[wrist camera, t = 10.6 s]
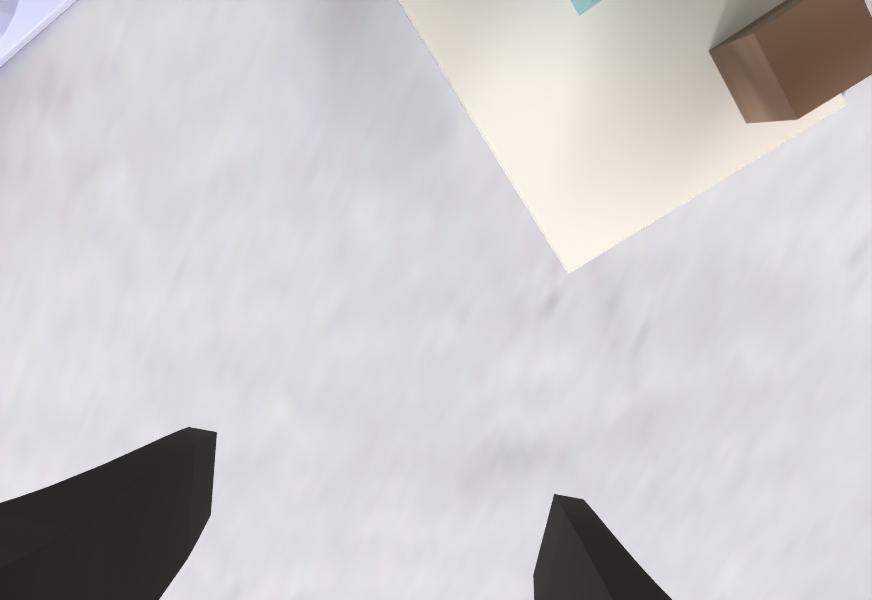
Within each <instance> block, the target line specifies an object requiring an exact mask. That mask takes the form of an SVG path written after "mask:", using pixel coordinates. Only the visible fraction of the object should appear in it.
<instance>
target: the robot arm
mask: <svg viewBox="0 0 872 600" xmlns="http://www.w3.org/2000/svg"><path fill="white" fill-rule="evenodd" d="M75 1H76V0H0V67H1V66H2V65H3V64H4V63H5V62H7V61H8V60H9V59H10V58H11V57H12V56H13V55H15V54H16V53H17V52H18V51H19V50H20V49H21V48H23V47H24V46H25V45H26V44H27V43H28V42H29V41H31V40H32V39H33V38H34V37H35V36H36V35H38V34H39V33H40V32H41V31H42V30H43V29H44V28H46V27H47V26H48V25H49V24H50V23H51V22H52V21H54V20H55V19H56V18H57V17H58V16H59V15H60V14H62V13H63V12H64V11H65V10H66V9H67V8H68V7H70V6H71V5H72V4H73V3H74V2H75ZM216 437H217V432H213V431H207V430H202V429H196V428H191V427H187V428H185V429H182V430H179V431H177V432H174V433H172V434H170V435H168V436H165V437H163V438H161V439H159V440H156V441H154V442H152V443H150V444H148V445H145V446H143V447H141V448H139V449H137V450H134V451H132V452H130V453H128V454H126V455H123V456H121V457H119V458H117V459H114V460H112V461H110V462H108V463H105V464H103V465H101V466H98V467H96V468H93V469H91V470H89V471H86V472H84V473H81V474H79V475H76V476H74V477H71V478H69V479H66V480H64V481H61V482H59V483H56V484H54V485H51V486H49V487H46V488H43V489H41V490H38V491H35V492H32V493H29V494H26V495H23V496H21V497H17V498H14V499H11V500H8V501H5V502H2V503H0V600H159V599H160V597H161V596H162V595H163V593H164V592H165V590H166V589H167V587H168V586H169V585H170V583H171V582H172V580H173V579H174V577H175V576H176V575H177V573H178V572H179V570H180V569H181V567H182V566H183V565H184V563H185V562H186V560H187V559H188V557H189V555H190V553H191V552H192V550H193V548H194V546H195V544H196V542H197V541H198V539H199V537H200V535H201V533H202V531H203V529H204V527H205V525H206V523H207V521H208V519H209V517H210V516H211V504H212V490H213V477H214V463H215V450H216ZM533 578H534V600H672V599H671V598H670V597H669V596H668V595H667V594H666V593H665V592H664V591H663V590H662V589H661V588H660V587H659V586H658V585H657V584H656V583H655V582H654V580H653V579H652V578H651V577H650V576H649V575H648V574H647V573H646V572H645V571H644V570H643V569H642V567H641V566H640V565H639V564H638V563H637V562H636V561H635V560H634V558H633V557H632V556H631V555H630V554H629V553H628V551H627V550H626V549H625V548H624V547H623V546H622V544H621V543H620V542H619V541H618V540H617V539H616V537H615V536H614V535H613V534H612V533H611V531H610V530H609V529H608V528H607V527H606V525H605V524H604V523H603V522H602V521H601V519H600V518H599V517H598V516H597V515H596V513H595V512H594V511H593V510H592V509H591V507H590V506H589V505H588V504H587V503H586V502H585V501H584V500H583V499H578V498H573V497H568V496H562V495H557V494H554V497H553V501H552V505H551V509H550V513H549V516H548V520H547V524H546V528H545V532H544V536H543V540H542V544H541V547H540V551H539V555H538V559H537V563H536V567H535V571H534V574H533Z"/></svg>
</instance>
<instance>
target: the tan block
mask: <svg viewBox="0 0 872 600" xmlns="http://www.w3.org/2000/svg"><path fill="white" fill-rule="evenodd" d="M709 53H710V55H711V57H712V59H713V61H714V63H715V65H716V67H717V68H718V70H719V72H720V74H721V76H722V78H723V80H724V82H725V84H726V86H727V88H728V90H729V91H730V93H731V95H732V97H733V99H734V101H735V103H736V105H737V107H738V109H739V111H740V113H741V115H742V116H743V118H744V120H745V122H746V124H747V123H761V122H774V121H788V120H798V119H800V118H801V117H803V116H804V115H806V114H808V113H809V112H811V111H813V110H814V109H816V108H818V107H819V106H821V105H822V104H824V103H826V102H827V101H829V100H831V99H832V98H834V97H835V96H837V95H839V94H840V93H842V92H844V91H845V90H847V89H849V88H850V87H852V86H853V85H855V84H857V83H858V82H860V81H862V80H863V79H865V78H867V77H868V76H870V75H871V74H872V17H871V15H870V12H869V10H868V8H867V6H866V4H865V1H864V0H785V1H784V2H782V3H781V4H779V5H778V6H776V7H775V8H773V9H772V10H770V11H769V12H767V13H766V14H764V15H763V16H761V17H760V18H758V19H756V20H755V21H753V22H752V23H750V24H749V25H747V26H746V27H744V28H743V29H741V30H740V31H738V32H737V33H735V34H734V35H732V36H731V37H729V38H728V39H726V40H724V41H723V42H721V43H720V44H718V45H717V46H715V47H714V48H712V49H711V50H709Z"/></svg>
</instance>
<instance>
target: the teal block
mask: <svg viewBox="0 0 872 600" xmlns="http://www.w3.org/2000/svg"><path fill="white" fill-rule="evenodd" d="M570 1H571V2H572V4H573V6H574V8H575V9H576V11H577V13H578V15H579V16H580V15H582V14H583V13H584V12H586V11H587V10H589V9H590V8H591V7H593V6H594V5H596V4H597V3H599V2H600V1H601V0H570Z"/></svg>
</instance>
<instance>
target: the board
mask: <svg viewBox="0 0 872 600" xmlns="http://www.w3.org/2000/svg"><path fill="white" fill-rule="evenodd" d="M398 1H399V3H400V5H401V6H402V8H403V9H404V11H405V13H406V14H407V16H408V17H409V19H410V21H411V22H412V24H413V25H414V27H415V29H416V30H417V32H418V34H419V35H420V37H421V38H422V40H423V42H424V43H425V45H426V46H427V48H428V50H429V51H430V53H431V54H432V56H433V58H434V59H435V61H436V62H437V64H438V66H439V67H440V69H441V70H442V72H443V74H444V75H445V77H446V79H447V80H448V82H449V83H450V85H451V87H452V88H453V90H454V91H455V93H456V95H457V96H458V98H459V99H460V101H461V103H462V104H463V106H464V107H465V109H466V111H467V112H468V114H469V115H470V117H471V119H472V120H473V122H474V124H475V125H476V127H477V128H478V130H479V132H480V133H481V135H482V136H483V138H484V140H485V141H486V143H487V144H488V146H489V148H490V149H491V151H492V152H493V154H494V156H495V157H496V159H497V161H498V162H499V164H500V165H501V167H502V169H503V170H504V172H505V173H506V175H507V177H508V178H509V180H510V181H511V183H512V185H513V186H514V188H515V189H516V191H517V193H518V194H519V196H520V197H521V199H522V201H523V202H524V204H525V206H526V207H527V209H528V210H529V212H530V214H531V215H532V217H533V218H534V220H535V222H536V223H537V225H538V226H539V228H540V230H541V231H542V233H543V234H544V236H545V238H546V239H547V241H548V242H549V244H550V246H551V247H552V249H553V251H554V252H555V254H556V255H557V257H558V259H559V260H560V262H561V263H562V265H563V267H564V268H565V270H566V271H567V273H568V274H569V273H571V272H572V271H574V270H576V269H577V268H579V267H581V266H582V265H584V264H585V263H587V262H589V261H590V260H592V259H594V258H595V257H597V256H599V255H600V254H602V253H604V252H605V251H607V250H609V249H610V248H612V247H613V246H615V245H617V244H618V243H620V242H622V241H623V240H625V239H627V238H628V237H630V236H632V235H633V234H635V233H637V232H638V231H640V230H642V229H643V228H645V227H646V226H648V225H650V224H651V223H653V222H655V221H656V220H658V219H660V218H661V217H663V216H665V215H666V214H668V213H670V212H671V211H673V210H674V209H676V208H678V207H679V206H681V205H683V204H684V203H686V202H688V201H689V200H691V199H693V198H694V197H696V196H698V195H699V194H701V193H703V192H704V191H706V190H707V189H709V188H711V187H712V186H714V185H716V184H717V183H719V182H721V181H722V180H724V179H726V178H727V177H729V176H731V175H732V174H734V173H735V172H737V171H739V170H740V169H742V168H744V167H745V166H747V165H749V164H750V163H752V162H754V161H755V160H757V159H759V158H760V157H762V156H763V155H765V154H767V153H768V152H770V151H772V150H773V149H775V148H777V147H778V146H780V145H782V144H783V143H785V142H787V141H788V140H790V139H792V138H793V137H795V136H796V135H798V134H800V133H801V132H803V131H805V130H806V129H808V128H810V127H811V126H813V125H815V124H816V123H818V122H820V121H821V120H823V119H824V118H826V117H828V116H829V115H831V114H833V113H834V112H836V111H838V110H839V109H841V108H843V107H844V106H846V103H845V100H844V98H843V96H842V94H841V93H840V94H839V95H837V96H835V97H834V98H832V99H831V100H829V101H827V102H826V103H824V104H822V105H821V106H819V107H818V108H816V109H814V110H813V111H811V112H809V113H808V114H806V115H804V116H803V117H801V118H800V119H798V120H788V121H774V122H761V123H747V124H746V122H745V120H744V118H743V116H742V115H741V113H740V111H739V109H738V107H737V105H736V103H735V101H734V99H733V97H732V95H731V93H730V91H729V90H728V88H727V86H726V84H725V82H724V80H723V78H722V76H721V74H720V72H719V70H718V68H717V67H716V65H715V63H714V61H713V59H712V57H711V55H710V53H709V50H711V49H712V48H714V47H715V46H717V45H718V44H720V43H721V42H723V41H724V40H726V39H728V38H729V37H731V36H732V35H734V34H735V33H737V32H738V31H740V30H741V29H743V28H744V27H746V26H747V25H749V24H750V23H752V22H753V21H755V20H756V19H758V18H760V17H761V16H763V15H764V14H766V13H767V12H769V11H770V10H772V9H773V8H775V7H776V6H778V5H779V4H781V3H782V2H784V1H785V0H601V1H600V2H599V3H597V4H596V5H594V6H593V7H591V8H590V9H589V10H587V11H586V12H584V13H583V14H582V15H580V16H579V15H578V13H577V11H576V9H575V8H574V6H573V4H572V2H571V1H570V0H398Z"/></svg>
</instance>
